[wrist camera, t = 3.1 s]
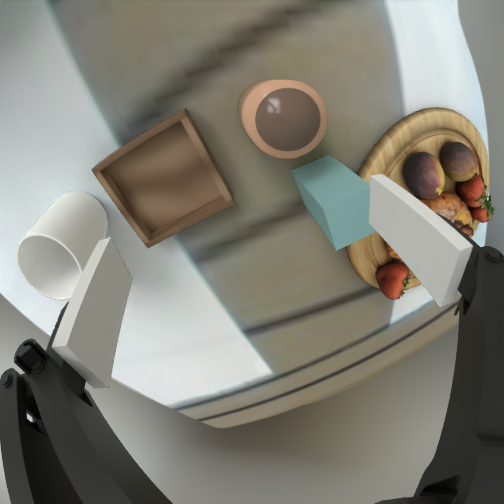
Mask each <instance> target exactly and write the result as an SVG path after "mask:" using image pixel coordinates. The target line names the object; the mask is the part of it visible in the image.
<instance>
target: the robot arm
mask: <svg viewBox="0 0 504 504" xmlns="http://www.w3.org/2000/svg"><path fill="white" fill-rule="evenodd" d="M369 223H370V225H371V226H372V227H373V228H374V229H375V230H376V231H377V232H378V233H379V234H380V235H381V236H382V237H383V239H384V240H385V241H386V242H387V243H388V244H389V245H390V246H391V248H392V249H393V250H394V251H395V252H396V253H397V254H398V255H399V257H400V258H401V259H402V260H403V261H404V262H405V264H406V265H407V266H408V267H409V268H410V270H411V271H412V272H413V273H414V274H415V276H416V277H417V278H418V279H419V281H420V282H421V283H422V284H423V286H424V287H425V288H426V289H427V291H428V292H429V293H430V294H431V296H432V297H433V298H434V300H435V301H436V302H437V304H438V305H439V306H440V307H442V306H444V305H446V304H448V303H450V302H453V300H454V298H455V296H456V293H457V291H459V292H460V293H461V294H462V297H461V299H460V301H459V304H458V306H457V308H456V310H455V314H454V315H457V313H458V311H459V310H460V312H459V332H458V344H457V354H456V362H455V370H454V377H453V383H452V389H451V394H450V399H449V404H448V408H447V413H446V417H445V421H444V425H443V429H442V433H441V436H440V440H439V443H438V446H437V450H436V453H435V456H434V458H433V460H432V462H431V463H430V464H429V466H428V467H427V469H426V470H425V472H424V473H423V475H422V478H421V480H420V483H419V485H418V487H417V489H416V492H415V494H414V496H413V497H408V498H406V497H404V498H398V499H391V500H383V501H380V502H377V503H375V504H504V256H503V254H502V253H501V252H500V251H498V250H497V249H495V248H493V247H490V246H484V247H480V246H479V245H478V244H476V243H475V242H474V241H473V240H472V239H471V238H470V237H469V236H468V235H467V234H465V233H464V232H463V231H462V230H460V228H458V227H457V226H456V225H454V223H453V222H451V221H450V220H449V219H448V218H446V217H444V216H442V215H440V214H438V213H435V212H433V211H432V210H431V209H430V208H428V207H427V206H426V205H425V204H423V203H422V202H421V201H419V200H418V199H417V198H415V197H414V196H413V195H411V194H410V193H409V192H407V191H406V190H405V189H403V188H402V187H401V186H399V185H398V184H396V183H395V182H393V181H392V180H391V179H389V178H388V177H386V176H385V175H383V174H379V175H372V176H370V206H369ZM132 280H133V278H132V277H131V275H130V273H129V271H128V269H127V267H126V265H125V264H124V262H123V260H122V258H121V256H120V254H119V252H118V250H117V248H116V246H115V244H114V242H113V240H112V238H111V237H109V238H106V239H103V240H100V241H98V243H97V245H96V247H95V249H94V251H93V252H92V254H91V256H90V258H89V260H88V262H87V264H86V266H85V268H84V270H83V272H82V275H81V277H80V279H79V281H78V283H77V285H76V287H75V290H74V292H73V294H72V296H71V299H70V301H68V302H67V304H66V305H65V306H64V308H63V309H62V310H61V313H60V315H59V318H58V321H57V323H56V325H55V329H54V330H53V333H52V335H51V338H50V341H49V344H48V346H47V349H46V351H45V350H44V349H43V348H42V347H41V346H40V345H39V344H38V343H37V342H36V340H34V339H28V340H26V341H24V342H23V343H22V344H21V345H20V346H19V348H18V349H17V351H16V353H15V357H14V363H15V364H17V365H18V366H19V367H20V368H21V369H22V370H23V371H24V372H25V373H24V374H21V375H20V374H19V373H18V372H17V371H16V370H15V369H13V368H10V369H8V370H6V371H5V372H4V373H3V375H2V376H1V379H0V444H1V453H2V460H3V467H4V472H5V478H6V484H7V488H8V493H9V497H10V501H11V504H172V502H171V501H170V500H169V499H168V498H167V497H166V496H165V495H164V494H163V493H162V492H161V491H160V490H159V489H158V488H157V487H156V486H155V484H154V483H153V482H152V481H151V480H150V479H149V477H148V476H147V475H146V474H145V473H144V472H143V470H142V469H141V468H140V467H139V466H138V464H137V463H136V462H135V460H134V459H133V458H132V457H131V455H130V454H129V453H128V451H127V450H126V449H125V447H124V446H123V445H122V443H121V442H120V440H119V439H118V437H117V436H116V435H115V433H114V432H113V430H112V429H111V427H110V426H109V424H108V423H107V421H106V420H105V418H104V417H103V415H102V413H101V412H100V410H99V409H98V407H97V405H96V403H95V402H94V400H93V398H92V397H91V395H90V393H89V392H88V391H87V390H86V389H85V383H86V381H87V382H88V383H89V384H90V385H91V386H92V387H93V388H109V386H110V380H111V374H112V368H113V362H114V357H115V352H116V347H117V342H118V337H119V332H120V328H121V323H122V319H123V315H124V311H125V307H126V303H127V299H128V295H129V291H130V287H131V283H132ZM26 413H27V414H29V415H30V416H31V417H32V419H33V422H30V421H29V420H28V419H27V414H26ZM454 500H455V501H454ZM453 502H454V503H453Z"/></svg>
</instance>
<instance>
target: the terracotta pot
mask: <svg viewBox="0 0 504 504" xmlns="http://www.w3.org/2000/svg"><path fill="white" fill-rule="evenodd" d="M237 112H238V118H239V121H240V124H241V126H242V127H243V129H244V130H245V131H246V132H247V134H248V135H249V136H250V138H251V139H252V140H253V142H254V143H255V144H256V145H257V146H258V147H259V148H260V149H261V150H262V151H263V152H265V153H267V154H269V155H271V156H273V157H277V158H283V159H290V158H296V157H300V156H303V155H305V154H307V153H308V152H310V151H311V150H313V149H314V148H315V147H316V146H317V145H318V144H319V142H320V141H321V140H322V138H323V136H324V134H325V131H326V128H327V121H328V117H327V110H326V106H325V104H324V102H323V100H322V98H321V97H320V95H319V94H318V93H317V92H316V91H315V90H314V89H313V88H311V87H310V86H308V85H306V84H305V83H302V82H299V81H295V80H263V81H259V82H256V83H254V84H253V85H251V86H250V87H248V88H247V89H246V90H245V91H244V93H243V94H242V96H241V98H240V100H239V103H238V110H237Z"/></svg>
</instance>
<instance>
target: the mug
mask: <svg viewBox="0 0 504 504" xmlns="http://www.w3.org/2000/svg"><path fill="white" fill-rule="evenodd" d="M107 230H108V219H107V215H106V212H105V210H104V208H103V206H102V205H101V204H100V202H99V201H98V200H97V199H96V198H94V197H93V196H92V195H90V194H88V193H85V192H82V191H71V192H67V193H65V194H63V195H62V196H60V197H59V198H58V199H57V200H56V201H55V202H54V203H53V204H52V205H51V206H50V207H49V208H48V209H47V210H46V212H45V213H44V214H43V215H42V216H41V217H40V218H39V219H38V221H37V222H36V223H35V224H34V225H33V226H32V228H31V229H30V230H29V231H28V232H27V234H26V235H25V236H24V237H23V239H22V240H21V241H20V243H19V245H18V248H17V263H18V266H19V269H20V271H21V273H22V275H23V277H24V278H25V280H26V281H27V282H28V283H29V284H30V285H31V286H32V287H33V288H34V289H35V290H36V291H38V292H39V293H41V294H42V295H44V296H46V297H49V298H51V299H55V300H69V299H71V296H72V294H73V292H74V290H75V287H76V285H77V283H78V281H79V279H80V277H81V275H82V272H83V270H84V268H85V266H86V264H87V262H88V260H89V258H90V256H91V254H92V252H93V251H94V249H95V247H96V245H97V243H98V241H100V240H103V239H105V237H106V234H107Z"/></svg>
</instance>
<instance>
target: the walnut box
mask: <svg viewBox="0 0 504 504" xmlns="http://www.w3.org/2000/svg"><path fill="white" fill-rule="evenodd" d="M92 172H93V173H94V175H95V176H96V178H97V179H98V181H99V182H100V184H101V185H102V186H103V188H104V189H105V191H106V192H107V194H108V195H109V196H110V198H111V199H112V201H113V202H114V204H115V205H116V206H117V208H118V209H119V211H120V212H121V213H122V215H123V216H124V217H125V219H126V220H127V221H128V223H129V224H130V225H131V227H132V228H133V229H134V231H135V232H136V233H137V235H138V236H139V237H140V239H141V240H142V241H143V243H144V244H145V245H146V246H147V248H150V247H151V246H153V245H155V244H157V243H159V242H161V241H163V240H165V239H167V238H168V237H170V236H172V235H174V234H176V233H178V232H180V231H182V230H184V229H186V228H188V227H190V226H192V225H194V224H196V223H198V222H200V221H202V220H204V219H206V218H208V217H210V216H212V215H214V214H216V213H218V212H220V211H222V210H224V209H226V208H228V207H230V206H232V205H234V204H235V202H234V198H233V195H232V193H231V191H230V189H229V187H228V185H227V183H226V182H225V180H224V178H223V176H222V174H221V172H220V170H219V169H218V167H217V165H216V163H215V161H214V159H213V158H212V156H211V154H210V152H209V150H208V148H207V147H206V145H205V143H204V141H203V139H202V137H201V136H200V134H199V132H198V130H197V128H196V126H195V125H194V123H193V121H192V119H191V117H190V116H189V114H188V112H187V110H186V108H185V109H183V110H182V111H180V112H178V113H176V114H174V115H173V116H171V117H169V118H167V119H165V120H164V121H162V122H160V123H159V124H157V125H155V126H154V127H152V128H150V129H149V130H147V131H145V132H144V133H142V134H141V135H139V136H137V137H136V138H134V139H133V140H131V141H130V142H128V143H127V144H125V145H124V146H122V147H121V148H119V149H118V150H116V151H115V152H113V153H112V154H111V155H109V156H108V157H106V158H105V159H104V160H102V161H101V162H99V163H98V164H97V165H96V166H95V167H94V168H93V169H92Z"/></svg>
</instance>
